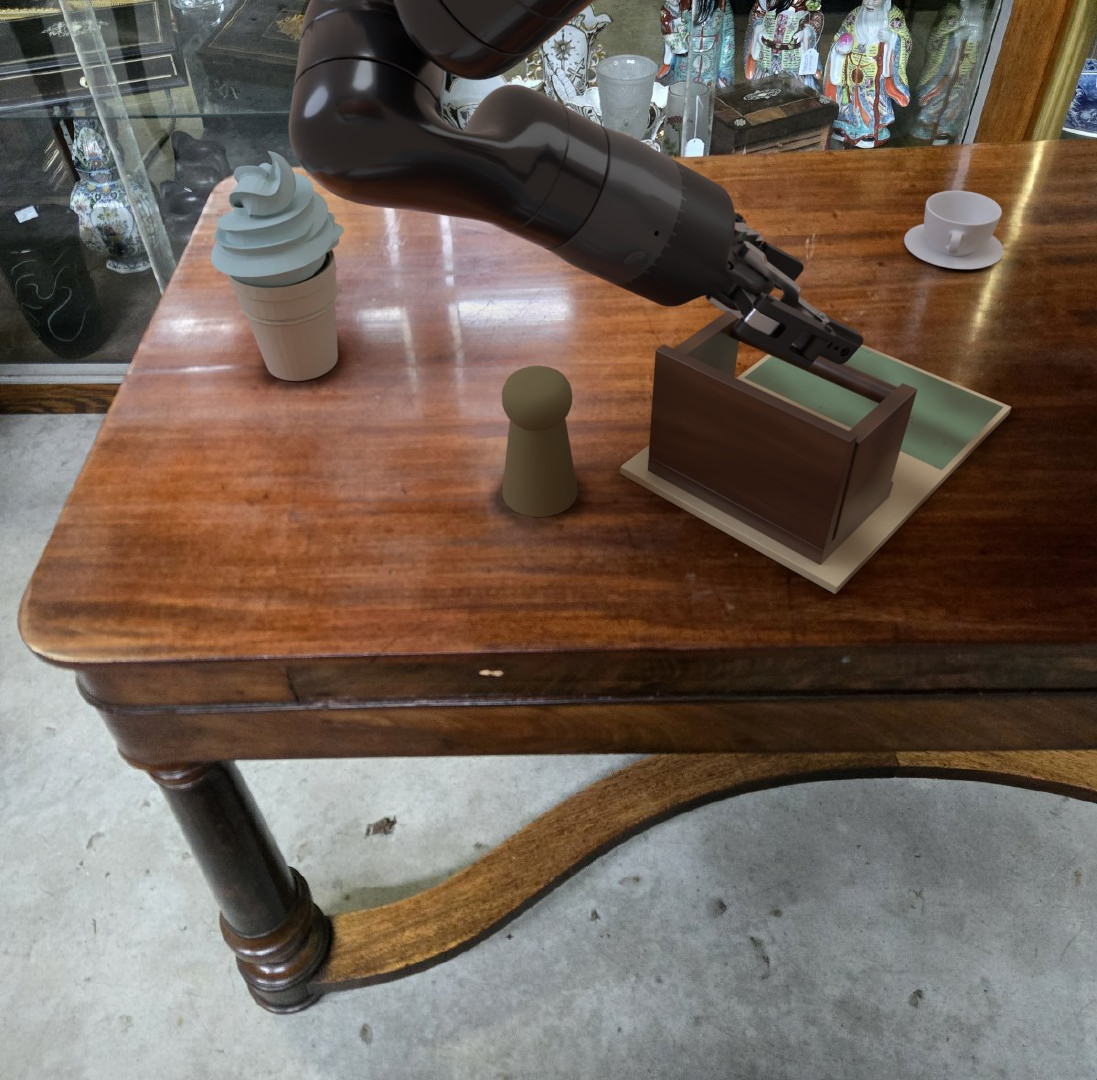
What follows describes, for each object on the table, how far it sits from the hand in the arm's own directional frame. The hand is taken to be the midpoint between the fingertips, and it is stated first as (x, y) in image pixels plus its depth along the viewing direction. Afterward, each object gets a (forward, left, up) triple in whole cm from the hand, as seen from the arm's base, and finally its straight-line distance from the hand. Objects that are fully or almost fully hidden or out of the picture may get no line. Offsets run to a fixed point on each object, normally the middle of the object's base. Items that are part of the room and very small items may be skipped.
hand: (821, 311), depth 68 cm
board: (0, -10, -18) cm, 21 cm away
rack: (+2, -2, -17) cm, 18 cm away
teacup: (-3, -47, -18) cm, 51 cm away
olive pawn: (+18, +6, -18) cm, 26 cm away
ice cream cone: (+46, 0, -18) cm, 50 cm away
